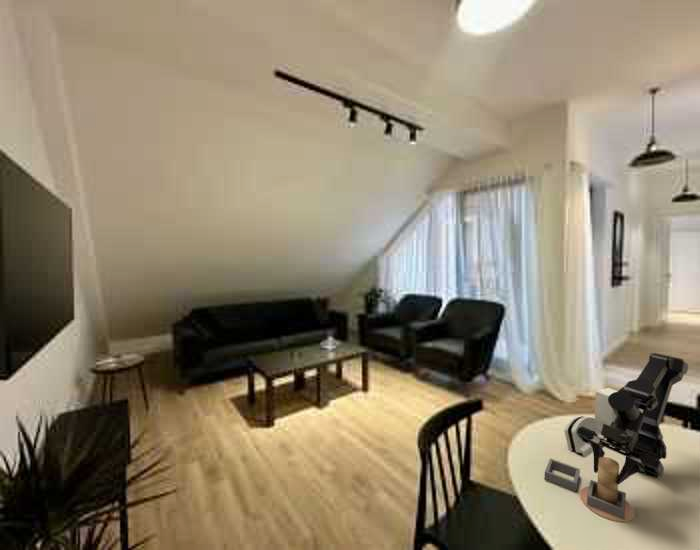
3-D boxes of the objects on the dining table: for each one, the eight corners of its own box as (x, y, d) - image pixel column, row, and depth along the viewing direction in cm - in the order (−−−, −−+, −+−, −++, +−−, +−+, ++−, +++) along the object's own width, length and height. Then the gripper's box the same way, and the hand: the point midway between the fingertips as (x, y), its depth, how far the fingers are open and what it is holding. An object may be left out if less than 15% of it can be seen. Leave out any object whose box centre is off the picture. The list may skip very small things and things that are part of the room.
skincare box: (611, 439, 122) (614, 398, 120) (591, 429, 128) (594, 390, 126) (624, 433, 125) (627, 393, 123) (605, 424, 131) (608, 386, 129)
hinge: (584, 458, 112) (575, 426, 113) (569, 455, 115) (560, 425, 117) (606, 441, 120) (597, 412, 122) (592, 439, 124) (583, 411, 126)
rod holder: (579, 476, 103) (580, 469, 103) (575, 491, 97) (576, 483, 97) (549, 465, 108) (550, 458, 108) (544, 479, 102) (544, 471, 102)
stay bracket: (634, 501, 93) (635, 492, 93) (634, 530, 84) (635, 520, 84) (582, 481, 101) (583, 473, 101) (577, 506, 92) (577, 496, 92)
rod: (612, 498, 94) (614, 458, 93) (619, 510, 90) (622, 468, 89) (593, 495, 95) (596, 455, 94) (600, 507, 91) (602, 466, 90)
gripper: (581, 400, 100) (559, 447, 95) (663, 429, 84) (642, 488, 79) (592, 417, 105) (572, 463, 100) (672, 448, 89) (652, 504, 84)
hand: (605, 477), depth 91 cm, fingers open, 5 cm apart
